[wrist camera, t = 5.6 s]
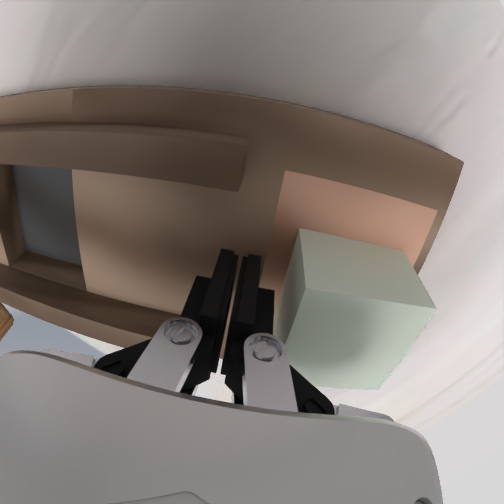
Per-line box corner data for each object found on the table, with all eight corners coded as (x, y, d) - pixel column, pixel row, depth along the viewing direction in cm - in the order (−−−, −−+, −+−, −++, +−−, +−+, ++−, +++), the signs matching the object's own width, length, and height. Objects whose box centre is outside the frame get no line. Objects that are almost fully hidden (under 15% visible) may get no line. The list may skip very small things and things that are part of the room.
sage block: (299, 227, 12) (306, 287, 9) (403, 250, 13) (436, 308, 9) (273, 315, 15) (270, 380, 12) (363, 329, 15) (378, 389, 12)
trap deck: (-3, 97, 12) (-54, 112, 8) (438, 148, 12) (489, 177, 8) (21, 274, 19) (-10, 309, 15) (352, 347, 20) (361, 401, 16)
